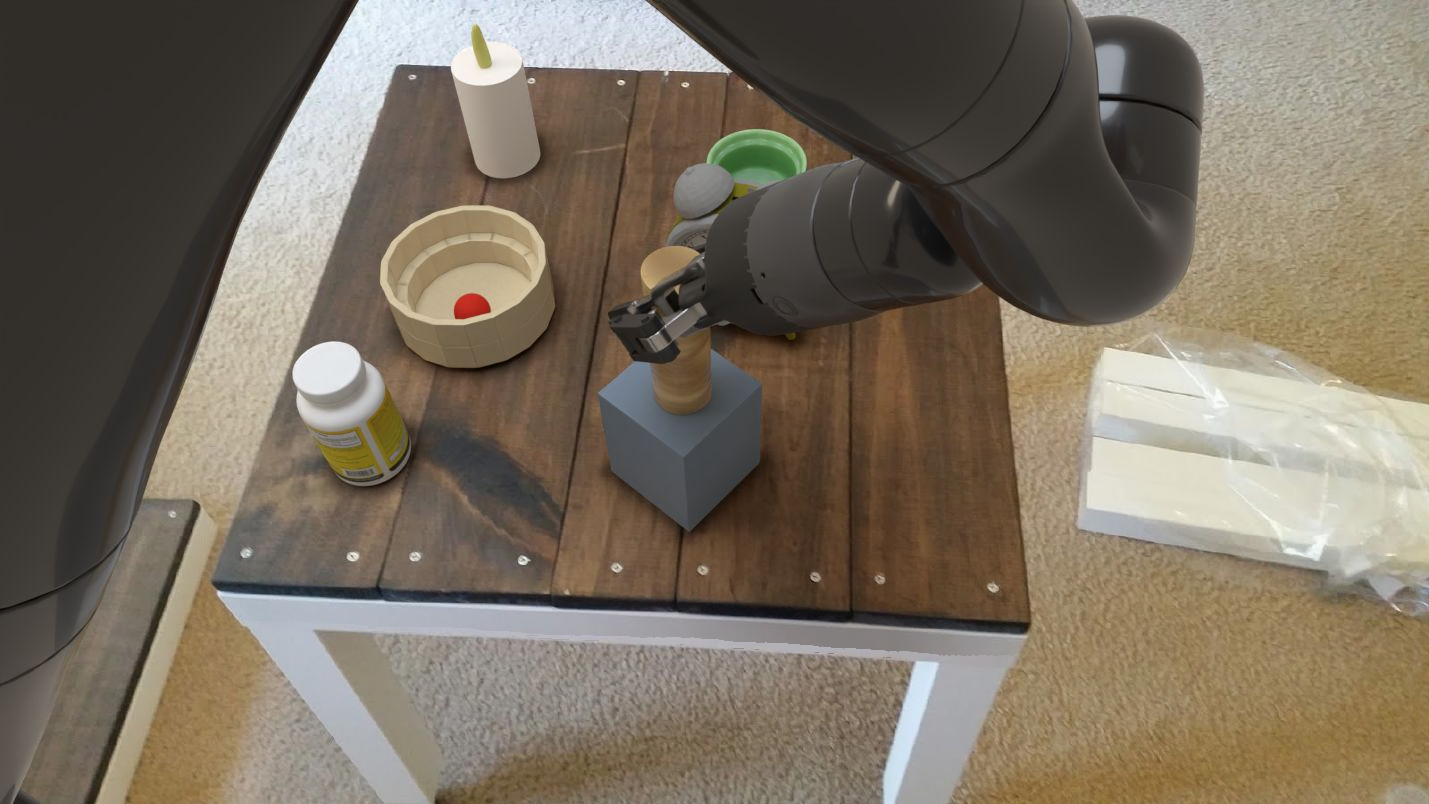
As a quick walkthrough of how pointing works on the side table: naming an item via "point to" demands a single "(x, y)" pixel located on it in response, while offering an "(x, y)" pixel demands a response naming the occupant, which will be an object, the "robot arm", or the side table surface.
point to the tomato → (471, 306)
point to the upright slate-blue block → (683, 440)
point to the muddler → (690, 373)
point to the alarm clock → (705, 203)
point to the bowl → (468, 285)
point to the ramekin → (758, 156)
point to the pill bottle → (350, 414)
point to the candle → (496, 107)
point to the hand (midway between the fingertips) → (653, 295)
